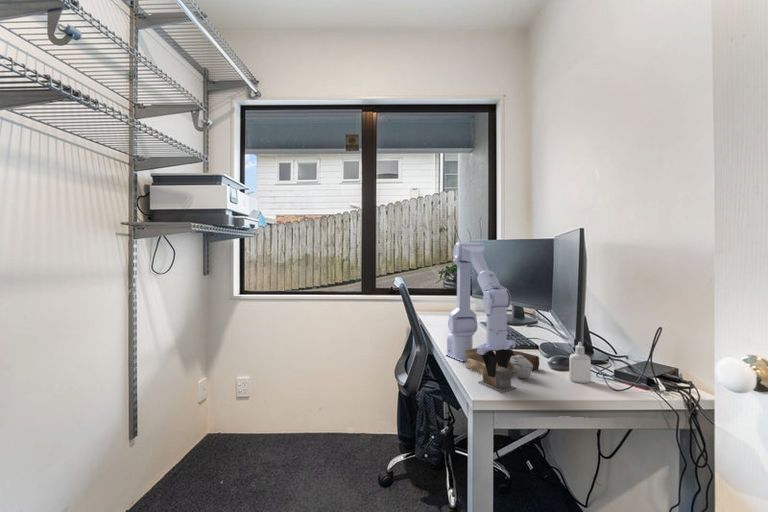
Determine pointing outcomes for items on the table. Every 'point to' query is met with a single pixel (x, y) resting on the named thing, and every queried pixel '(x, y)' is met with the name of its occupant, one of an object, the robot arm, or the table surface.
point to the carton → (479, 361)
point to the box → (498, 377)
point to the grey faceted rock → (521, 366)
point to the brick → (531, 358)
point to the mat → (497, 388)
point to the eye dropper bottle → (579, 366)
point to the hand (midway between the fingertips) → (496, 374)
